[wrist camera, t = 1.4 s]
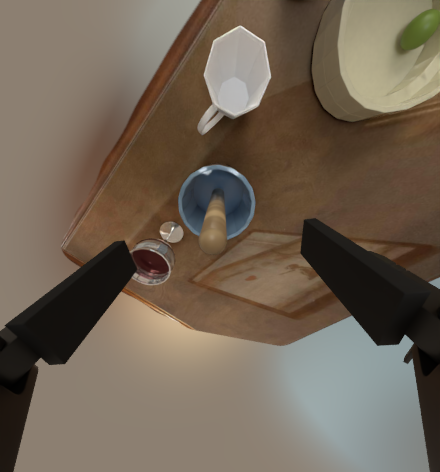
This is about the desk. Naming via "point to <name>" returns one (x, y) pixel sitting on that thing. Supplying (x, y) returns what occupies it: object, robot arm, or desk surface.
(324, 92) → the bowl
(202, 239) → the stick
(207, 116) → the cup
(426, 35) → the olive
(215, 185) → the utensil pot
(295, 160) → the desk surface
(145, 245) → the wineglass
